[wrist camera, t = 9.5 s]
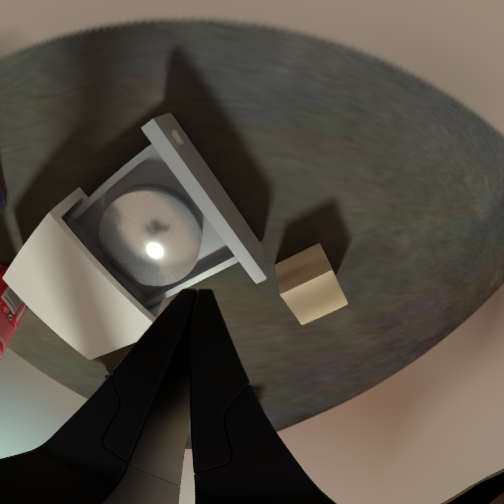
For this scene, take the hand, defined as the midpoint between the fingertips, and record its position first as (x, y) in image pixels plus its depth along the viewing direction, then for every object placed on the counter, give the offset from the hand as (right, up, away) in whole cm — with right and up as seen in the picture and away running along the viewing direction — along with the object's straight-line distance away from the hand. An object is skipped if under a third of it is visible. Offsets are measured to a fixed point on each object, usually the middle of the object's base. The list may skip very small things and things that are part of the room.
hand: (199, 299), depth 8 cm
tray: (-5, +4, +11) cm, 13 cm away
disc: (-5, +3, +10) cm, 12 cm away
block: (+6, 0, +15) cm, 16 cm away
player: (-13, 0, +14) cm, 19 cm away
